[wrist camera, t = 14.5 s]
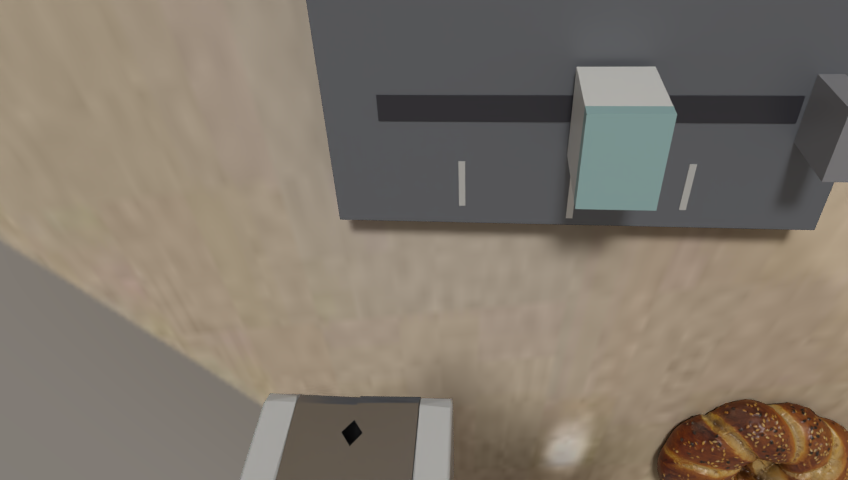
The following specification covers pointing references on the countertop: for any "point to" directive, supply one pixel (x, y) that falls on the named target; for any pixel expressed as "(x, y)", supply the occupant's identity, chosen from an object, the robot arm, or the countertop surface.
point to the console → (553, 98)
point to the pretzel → (756, 445)
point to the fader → (619, 137)
